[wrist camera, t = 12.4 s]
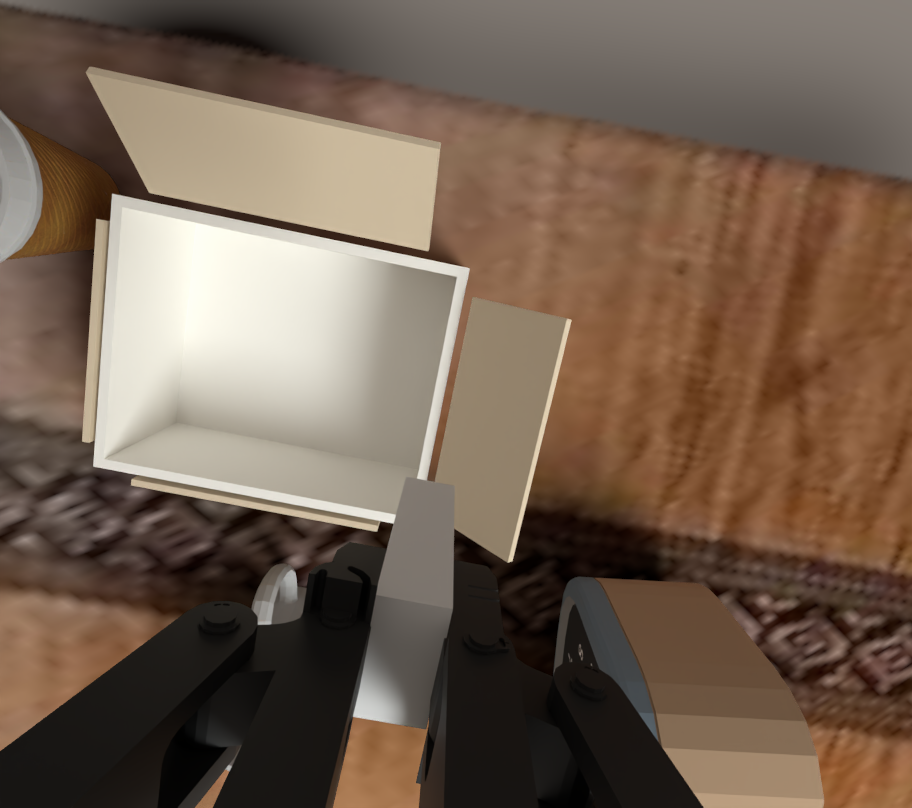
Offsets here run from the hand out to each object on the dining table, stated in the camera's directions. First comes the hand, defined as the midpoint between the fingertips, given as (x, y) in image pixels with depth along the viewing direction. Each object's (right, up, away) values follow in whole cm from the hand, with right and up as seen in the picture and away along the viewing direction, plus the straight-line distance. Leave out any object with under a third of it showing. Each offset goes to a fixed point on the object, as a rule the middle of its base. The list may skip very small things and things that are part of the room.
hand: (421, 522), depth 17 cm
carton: (-10, +8, +25) cm, 28 cm away
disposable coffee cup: (-26, +18, +23) cm, 39 cm away
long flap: (-8, +15, +10) cm, 19 cm away
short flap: (+3, +2, +13) cm, 14 cm away
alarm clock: (+14, -18, +31) cm, 38 cm away
